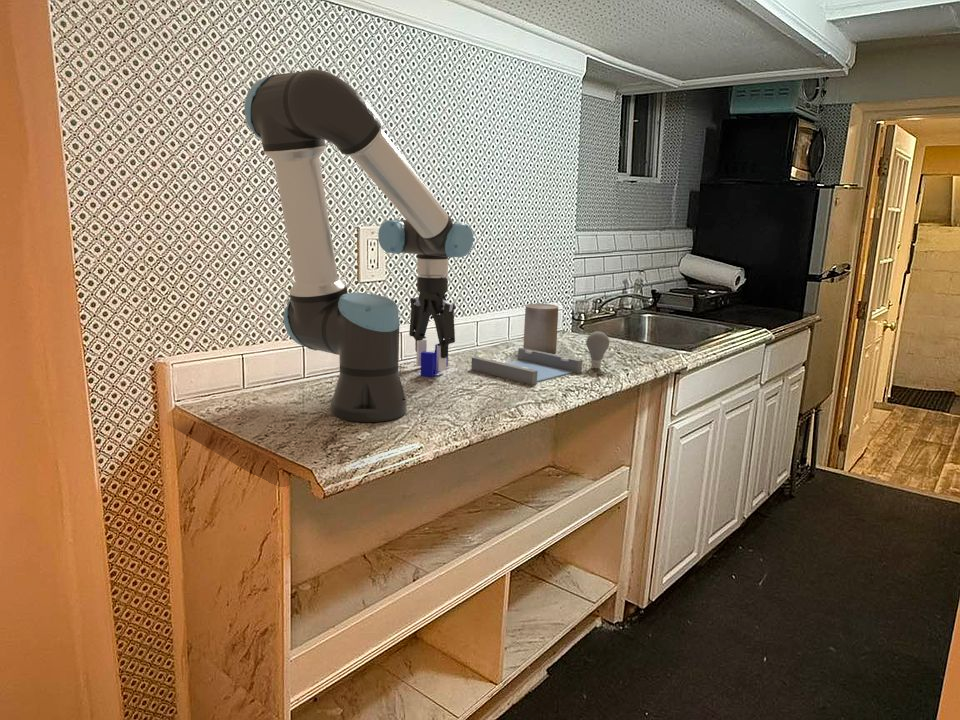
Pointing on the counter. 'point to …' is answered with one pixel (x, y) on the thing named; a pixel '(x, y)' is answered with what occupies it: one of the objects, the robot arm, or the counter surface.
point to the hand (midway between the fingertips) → (431, 367)
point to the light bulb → (597, 347)
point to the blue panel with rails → (529, 366)
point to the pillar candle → (541, 327)
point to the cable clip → (429, 363)
